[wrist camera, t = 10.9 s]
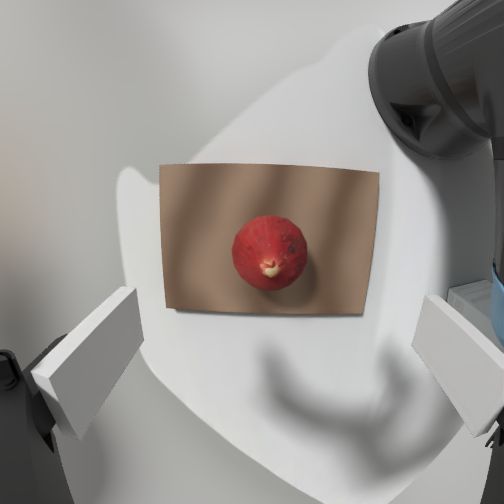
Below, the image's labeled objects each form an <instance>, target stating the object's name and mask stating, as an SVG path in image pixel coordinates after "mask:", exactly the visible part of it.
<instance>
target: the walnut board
mask: <svg viewBox="0 0 504 504" xmlns="http://www.w3.org/2000/svg"><path fill="white" fill-rule="evenodd" d="M159 176H160V178H159V179H160V227H161V248H162V264H163V277H164V289H165V300H166V308H173V309H186V310H202V311H220V312H242V313H276V314H352V313H363V310H364V304H365V299H366V293H367V287H368V281H369V274H370V267H371V260H372V253H373V245H374V236H375V227H376V216H377V204H378V190H379V173H376V172H367V171H358V170H348V169H338V168H326V167H312V166H296V165H275V164H227V163H220V164H174V165H160V175H159ZM268 215H275V216H279V217H283V218H287V219H289V220H290V221H291V222H292V223H294V224H295V225H296V226H297V227H299V228H300V229H301V231H302V234H303V236H304V238H305V240H306V242H307V263H306V266H305V268H304V270H303V272H302V274H301V275H300V276H299V277H298V278H297V279H296V280H295V281H294V282H293V283H292V284H291V285H290V286H288V287H285V288H283V289H281V290H276V291H264V290H260V289H257V288H254V287H252V286H251V285H250V284H248V283H247V282H246V281H245V280H243V279H242V278H241V277H240V275H239V273H238V272H237V270H236V268H235V267H234V264H233V257H232V250H231V249H232V246H233V242H234V239H235V235H236V234H237V233H238V232H239V231H240V229H241V228H242V227H243V226H244V225H245V224H246V223H248V222H250V221H251V220H253V219H255V218H257V217H261V216H268Z"/></svg>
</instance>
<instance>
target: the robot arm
mask: <svg viewBox="0 0 504 504" xmlns="http://www.w3.org/2000/svg"><path fill="white" fill-rule="evenodd" d="M368 77H369V84H370V89H371V93H372V96H373V99H374V102H375V104H376V106H377V108H378V110H379V112H380V114H381V116H382V118H383V119H384V121H385V122H386V124H387V125H388V127H389V128H390V129H391V130H392V132H393V133H394V134H395V135H396V136H397V137H398V138H399V139H400V140H401V141H402V142H403V143H405V144H406V145H407V146H408V147H410V148H411V149H413V150H414V151H416V152H418V153H420V154H422V155H424V156H427V157H430V158H435V159H457V158H462V157H465V156H467V155H469V154H471V153H473V152H474V151H476V150H477V149H479V148H481V147H482V146H484V145H485V144H487V143H488V142H490V141H491V143H492V151H493V163H494V175H495V191H496V237H495V254H494V259H493V262H492V270H491V273H492V278H493V282H492V292H491V301H490V318H491V324H492V327H493V330H494V332H495V335H496V337H497V339H498V341H499V342H500V343H501V345H502V346H503V347H504V0H458V1H456V2H455V3H453V4H452V5H451V6H449V7H448V8H447V9H445V10H444V11H443V12H442V13H441V14H439V15H438V16H437V17H435V18H434V19H433V20H429V21H423V22H418V23H412V24H408V25H403V26H399V27H397V28H395V29H393V30H391V31H390V32H388V33H387V34H386V35H385V36H384V37H383V38H382V39H381V40H380V41H379V42H378V43H377V44H376V46H375V47H374V49H373V51H372V53H371V56H370V60H369V66H368ZM143 341H144V337H143V332H142V326H141V319H140V313H139V306H138V298H137V291H136V288H135V287H123V286H121V287H120V288H119V289H118V290H117V291H115V292H114V293H113V294H112V295H111V296H110V297H109V298H108V299H106V300H105V301H104V302H103V303H102V304H101V305H100V306H99V307H97V308H96V309H95V310H94V311H93V312H92V313H91V314H90V315H89V316H87V317H86V318H85V319H84V320H83V321H82V322H81V323H80V324H79V325H78V326H77V327H76V328H75V329H73V330H72V331H71V332H70V333H69V334H65V335H63V336H61V337H59V338H57V339H56V340H55V341H54V342H52V343H51V344H50V345H49V346H48V348H46V349H45V350H44V351H43V352H42V354H40V355H39V356H38V357H37V358H36V359H35V360H34V361H33V362H32V363H30V365H28V366H27V367H26V369H24V370H23V371H21V369H20V367H19V364H18V362H17V359H16V357H15V355H14V353H13V352H12V351H9V350H0V504H74V502H73V499H72V496H71V493H70V490H69V487H68V484H67V480H66V477H65V474H64V470H63V467H62V463H61V459H60V455H59V452H58V447H57V443H56V438H55V435H54V433H53V431H52V428H53V426H54V425H55V423H56V424H57V425H58V427H59V429H60V431H61V432H62V434H63V435H66V436H68V437H71V438H73V439H76V440H79V441H81V439H82V437H83V436H84V434H85V432H86V431H87V429H88V428H89V426H90V424H91V423H92V421H93V419H94V418H95V416H96V414H97V412H98V411H99V410H100V408H101V406H102V405H103V403H104V402H105V400H106V398H107V397H108V395H109V394H110V392H111V390H112V389H113V387H114V386H115V384H116V382H117V381H118V379H119V378H120V376H121V375H122V373H123V372H124V370H125V369H126V367H127V365H128V364H129V362H130V361H131V359H132V358H133V356H134V354H135V353H136V351H137V350H138V349H139V347H140V346H141V344H142V343H143ZM411 346H412V347H413V348H414V350H415V351H416V352H417V354H418V355H419V356H420V358H421V359H422V361H423V362H424V363H425V365H426V366H427V368H428V369H429V370H430V372H431V373H432V375H433V376H434V377H435V379H436V380H437V382H438V383H439V385H440V386H441V388H442V389H443V390H444V392H445V393H446V395H447V396H448V398H449V399H450V401H451V402H452V404H453V405H454V407H455V408H456V410H457V411H458V413H459V415H460V416H461V418H462V419H463V421H464V422H465V424H466V426H467V427H468V429H469V430H470V432H471V434H472V435H473V437H474V438H475V437H478V436H480V435H482V434H485V433H487V432H488V431H489V430H490V428H491V427H492V425H493V424H494V422H495V421H497V422H498V424H499V426H498V428H497V429H496V430H495V432H494V433H493V435H492V436H491V437H490V439H489V440H488V441H487V443H486V445H485V447H488V445H489V444H490V443H491V441H494V442H493V444H492V446H491V447H490V448H493V449H492V455H491V461H490V466H489V471H488V475H487V480H486V484H485V488H484V492H483V495H482V499H481V503H480V504H504V353H503V351H501V350H500V349H499V348H498V347H497V346H496V345H495V344H493V343H492V342H491V341H490V340H489V339H488V338H487V337H485V336H484V335H483V334H482V333H481V332H480V331H479V330H478V329H477V328H476V327H474V326H473V325H472V324H471V323H470V322H469V321H468V320H467V319H465V318H464V317H463V316H462V315H461V314H460V313H458V312H457V311H456V310H455V309H454V308H453V307H451V306H450V305H449V304H448V303H447V302H445V301H444V300H443V299H442V298H441V297H439V296H438V295H425V298H424V302H423V306H422V310H421V314H420V317H419V321H418V325H417V328H416V332H415V335H414V338H413V342H412V345H411Z"/></svg>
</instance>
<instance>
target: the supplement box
mask: <svg viewBox="0 0 504 504" xmlns="http://www.w3.org/2000/svg"><path fill="white" fill-rule="evenodd" d="M491 292H492V283H491V282H489V281H488V280H482V281H478V282H474V283H469V284H465V285H461V286H457V287H452V288H449V291H448V297H447V303H448V304H449V305H450V306H451V307H453V308H454V309H455V310H456V311H457V312H458V313H460V314H461V315H462V316H463V317H464V318H465V319H467V320H468V321H469V322H470V323H471V324H472V325H473V326H474V327H476V328H477V329H478V330H479V331H480V332H481V333H482V334H483V335H484V336H485V337H487V338H488V339H489V340H490V341H491V342H492V343H493V344H495V345H496V346H497V347H498V348H499V349H500V350H501V351H503V353H504V347H503V346H502V345H501V343H500V342H499V341H498V339H497V337H496V335H495V332H494V330H493V327H492V324H491V318H490V301H491Z"/></svg>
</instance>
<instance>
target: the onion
mask: <svg viewBox="0 0 504 504" xmlns="http://www.w3.org/2000/svg"><path fill="white" fill-rule="evenodd" d="M231 250H232V257H233V264H234V267H235V268H236V270H237V272H238V273H239V275H240V277H241V278H242V279H243V280H245V281H246V282H247V283H248V284H250V285H251V286H252V287H254V288H257V289H260V290H264V291H276V290H281V289H283V288H285V287H288V286H290V285H291V284H292V283H293V282H294V281H295V280H296V279H297V278H298V277H299V276H300V275H301V274H302V272H303V270H304V268H305V266H306V263H307V242H306V240H305V238H304V236H303V234H302V231H301V229H300V228H299V227H297V226H296V225H295V224H294V223H292V222H291V221H290V220H289V219H287V218H283V217H279V216H275V215H268V216H261V217H257V218H255V219H253V220H251V221H250V222H248V223H246V224H245V225H244V226H243V227H242V228H241V229H240V231H239V232H238V233H237V234H236V235H235V239H234V242H233V246H232V249H231Z"/></svg>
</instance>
